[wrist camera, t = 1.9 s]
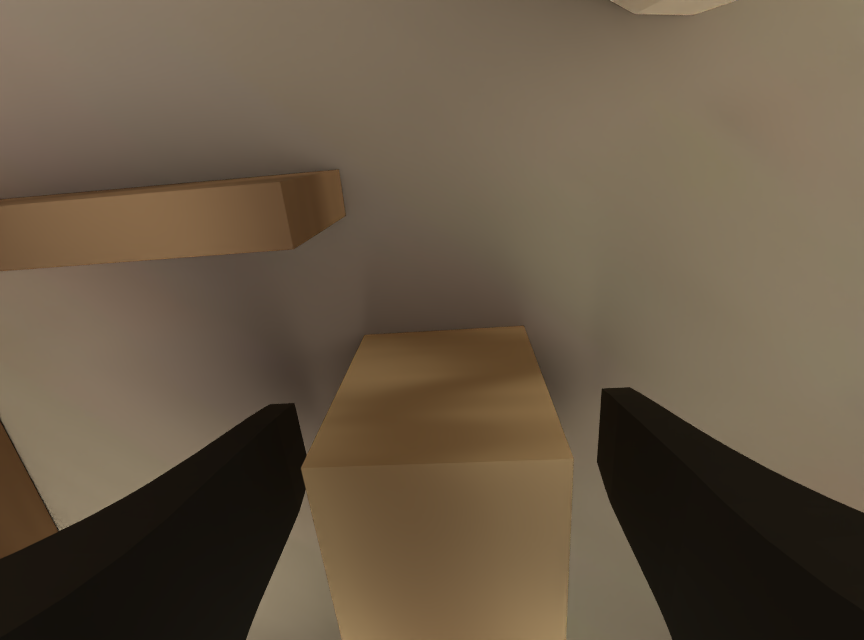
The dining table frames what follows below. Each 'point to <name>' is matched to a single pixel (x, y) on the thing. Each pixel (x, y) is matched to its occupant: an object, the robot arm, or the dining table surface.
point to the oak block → (444, 491)
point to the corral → (147, 240)
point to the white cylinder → (670, 6)
